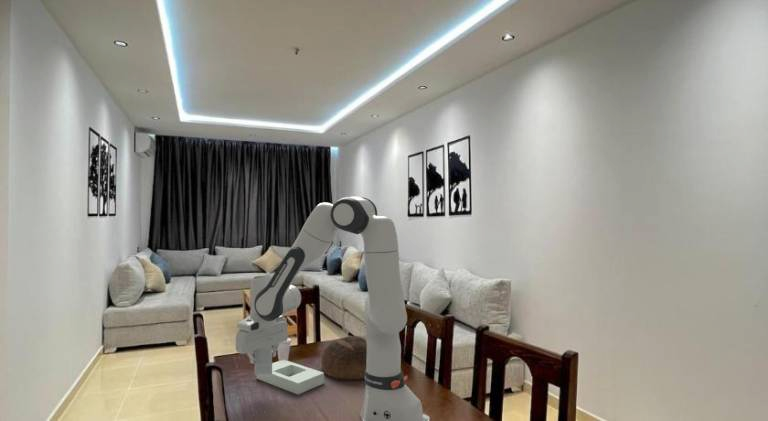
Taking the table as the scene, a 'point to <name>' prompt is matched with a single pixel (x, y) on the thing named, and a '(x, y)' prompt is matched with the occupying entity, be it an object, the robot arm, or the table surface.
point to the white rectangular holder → (293, 377)
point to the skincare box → (264, 359)
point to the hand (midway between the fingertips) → (263, 359)
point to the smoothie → (284, 350)
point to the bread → (346, 358)
